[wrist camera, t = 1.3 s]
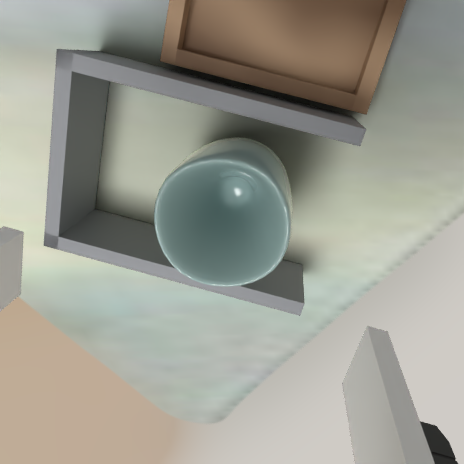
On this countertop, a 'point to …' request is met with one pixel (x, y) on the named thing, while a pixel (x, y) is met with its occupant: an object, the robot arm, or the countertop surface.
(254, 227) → the cup
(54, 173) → the bay
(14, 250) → the robot arm
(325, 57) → the tray
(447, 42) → the countertop surface
